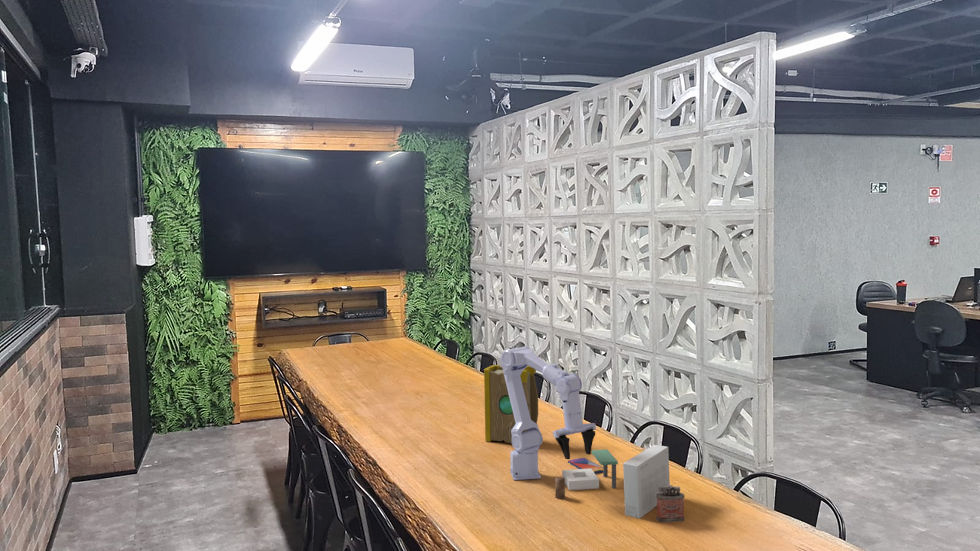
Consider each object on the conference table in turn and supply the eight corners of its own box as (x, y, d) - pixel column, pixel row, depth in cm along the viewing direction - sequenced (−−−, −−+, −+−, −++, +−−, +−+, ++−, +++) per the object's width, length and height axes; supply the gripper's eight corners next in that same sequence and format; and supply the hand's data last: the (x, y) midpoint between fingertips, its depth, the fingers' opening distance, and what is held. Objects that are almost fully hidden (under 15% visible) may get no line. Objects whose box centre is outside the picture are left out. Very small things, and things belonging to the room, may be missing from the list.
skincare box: (654, 492, 219) (654, 443, 218) (670, 496, 216) (670, 446, 215) (622, 514, 203) (622, 462, 202) (639, 519, 200) (639, 466, 198)
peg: (556, 499, 215) (556, 480, 214) (554, 495, 218) (554, 477, 217) (565, 498, 215) (565, 480, 215) (563, 495, 218) (563, 476, 218)
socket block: (568, 490, 222) (568, 481, 222) (562, 478, 232) (562, 470, 232) (599, 488, 223) (598, 479, 223) (591, 477, 233) (591, 468, 233)
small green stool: (601, 489, 222) (601, 462, 221) (591, 475, 234) (591, 450, 233) (617, 488, 223) (617, 461, 222) (607, 474, 235) (607, 449, 234)
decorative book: (482, 441, 273) (481, 367, 271) (495, 433, 283) (494, 362, 280) (528, 448, 264) (528, 371, 261) (540, 440, 274) (539, 366, 271)
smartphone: (583, 460, 251) (583, 457, 251) (607, 472, 238) (607, 469, 238) (566, 463, 248) (566, 460, 248) (589, 476, 235) (589, 473, 235)
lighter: (682, 516, 201) (682, 483, 200) (685, 521, 197) (686, 488, 197) (654, 517, 200) (654, 484, 200) (658, 522, 197) (658, 488, 196)
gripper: (558, 418, 210) (564, 463, 210) (598, 410, 216) (604, 453, 216) (547, 416, 217) (553, 459, 216) (587, 408, 223) (592, 450, 222)
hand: (578, 456), depth 216 cm, fingers open, 7 cm apart
